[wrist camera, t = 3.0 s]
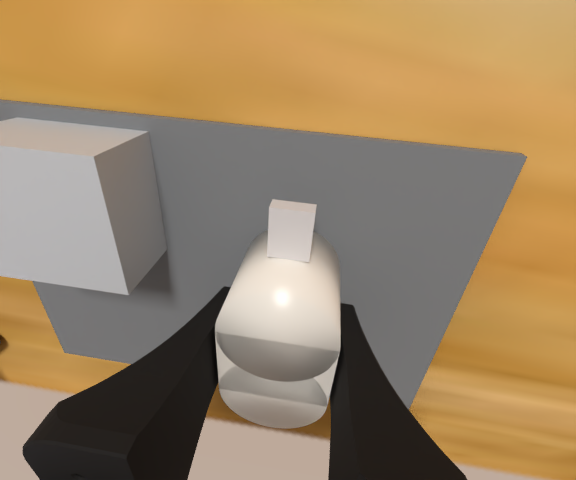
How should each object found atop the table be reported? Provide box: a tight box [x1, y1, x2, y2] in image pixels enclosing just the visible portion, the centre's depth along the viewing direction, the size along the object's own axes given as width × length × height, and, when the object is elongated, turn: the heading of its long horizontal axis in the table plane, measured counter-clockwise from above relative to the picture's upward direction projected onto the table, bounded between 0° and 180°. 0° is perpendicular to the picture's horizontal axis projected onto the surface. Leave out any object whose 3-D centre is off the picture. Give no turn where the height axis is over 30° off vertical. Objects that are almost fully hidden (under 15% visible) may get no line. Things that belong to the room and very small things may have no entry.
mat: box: [0, 100, 527, 410], centre depth 15 cm, size 20×14×1 cm
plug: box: [215, 199, 341, 429], centre depth 13 cm, size 10×4×4 cm, turn 176°
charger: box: [0, 117, 167, 295], centre depth 12 cm, size 5×5×3 cm
